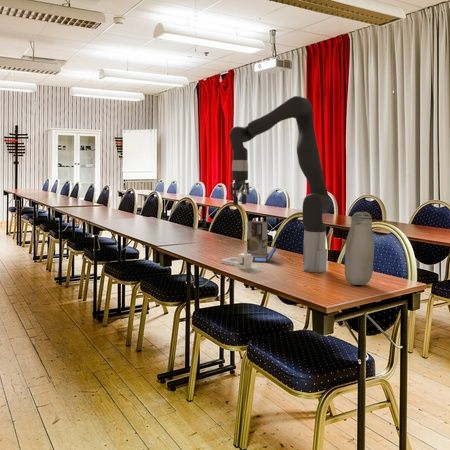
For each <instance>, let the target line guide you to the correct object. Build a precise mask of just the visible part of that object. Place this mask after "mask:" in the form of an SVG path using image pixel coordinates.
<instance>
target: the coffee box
mask: <svg viewBox="0 0 450 450" xmlns="http://www.w3.org/2000/svg"><path fill="white" fill-rule="evenodd" d="M246 225H247V228H246V229H247V230H246V231H247V233H246V235H247V236H246V239H247V240H246V241H247V242H246V253H247V254H259V255H263V254H264V255H265V254H267V253H268V243H269V239H268V236H269V235H268V233H269V232H268V231H269V230H268V229H269V221H263V220H261V221H260V220H250V221H247V223H246Z"/></svg>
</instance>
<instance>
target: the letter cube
mask: <svg viewBox="0 0 450 450" xmlns="http://www.w3.org/2000/svg"><path fill="white" fill-rule="evenodd" d="M252 254H253V253H247V252H246V253H245V252H242V253H238V257H237V258H238V266H237V267H238V268H241V269H240V270H242V269H248V270H250V269H249V268H251V265H252ZM238 268H237V269H238Z"/></svg>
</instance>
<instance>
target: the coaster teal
mask: <svg viewBox="0 0 450 450" xmlns="http://www.w3.org/2000/svg"><path fill="white" fill-rule="evenodd" d="M235 269H238V270H244V271H247V270H251V269H254V268H252V267H251V268H249V269H241V268H238V266H235Z"/></svg>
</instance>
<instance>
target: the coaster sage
mask: <svg viewBox="0 0 450 450" xmlns="http://www.w3.org/2000/svg"><path fill="white" fill-rule="evenodd" d="M251 267H252V268H253V269H259V268H264V267H265V266H264V265H259V264H255V263H254V264H251Z"/></svg>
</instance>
